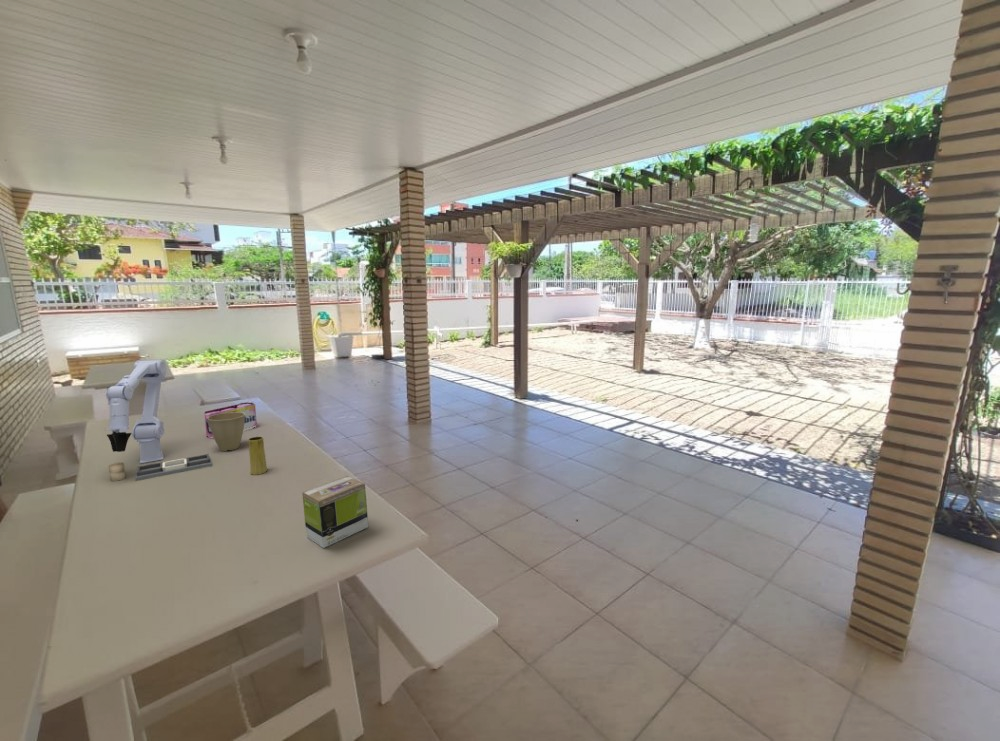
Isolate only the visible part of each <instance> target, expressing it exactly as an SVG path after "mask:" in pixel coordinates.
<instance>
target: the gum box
mask: <svg viewBox="0 0 1000 741" xmlns="http://www.w3.org/2000/svg"><path fill="white" fill-rule="evenodd" d="M229 412H241V413H245V422H244V429H247V428H250V427H253V426H257V427H258V423H257V422H258V421H257V411H256V403H252V402H243V403H238V404H237V403H236V404H233V405H230V406H229V405H228V406H224V407H219V408H214V409H209V410H204V413H203V414H204V422H205V424H204V425H205V433H206V434H205V435H206V437H207V436H209V437H213V435H212V432H211V429H210V426H209V423H208V419H207V418H208V417H209V416H212V415H216V414H221V413H229ZM244 429H243V430H244ZM209 437H208V438H209ZM213 438H214V437H213ZM213 438H212V439H213Z"/></svg>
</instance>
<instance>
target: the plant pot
mask: <svg viewBox="0 0 1000 741" xmlns="http://www.w3.org/2000/svg"><path fill="white" fill-rule="evenodd" d="M207 419H208V423H209V426H210V429H211V432H212V435H213V437H214V439H213V440H214V442H215V443H216V445H217V447H218V449H219V450H220V451H221V450H222V452H228V451H227V450H232V451H234V450H233V449H235V450H237V449H236V448H238V447H240V444H241V443H242V442H241V441H242V438H243V435H244V434H243V433H244V432H243V429H244V422H245V413H241V412H229V413H221V414H216V415H212V416H209V417H208V418H207ZM238 449H239V448H238Z"/></svg>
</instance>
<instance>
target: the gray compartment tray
mask: <svg viewBox="0 0 1000 741" xmlns="http://www.w3.org/2000/svg"><path fill="white" fill-rule="evenodd" d="M207 466H209V467H213V461H212V458H211V456H210V454H209V453H207V454H201V455H196V456H195V455H194V456H190V457H184V458H179V459H173V460H172V459H171V460H168V461H163V462H157V463H156V462H155V463H151V464H145V465H139V466H137V468H136V471H135V472H136V473H135V481H141V480H146V479H151V478H157V477H156V476H158V477H162V476H161V475H163V476H167V474H168V475H172V473H173V474H178V473H182V471H183V472H187V471H188V470H189V471H193V470H192V469H194V470H198V469H197V468H199V469H203V468H202V467H204V468H208V467H207ZM177 472H178V473H177Z"/></svg>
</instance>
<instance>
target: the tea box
mask: <svg viewBox="0 0 1000 741" xmlns="http://www.w3.org/2000/svg"><path fill="white" fill-rule="evenodd" d="M302 502H303V513H304V523H305V524H304V525H305V533H306V537H307V538H308V539H310V541H312V542H314V543H315V544H317V545H318V546H320V547H321V548H323V549H325V548H327V547H329V546H331V545H333V544H336V543H338V542H340V541H342V540H344V539H346V538H348V537H350V536H352V535H355V534H356V533H359V532H361V531H363V530H366V529H368V528H369V516H368V506H367V504H368V503H367V493H366V484H365V482H363V481H361V480H357V479H355V478H353V477H350V476H348V475H346V476H343V477H339V478H338V479H334V480H332V481H329V482H326V483H323V484H321V485H318V486H316V487H312V488H310V489H308V490H305V491H302Z"/></svg>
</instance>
